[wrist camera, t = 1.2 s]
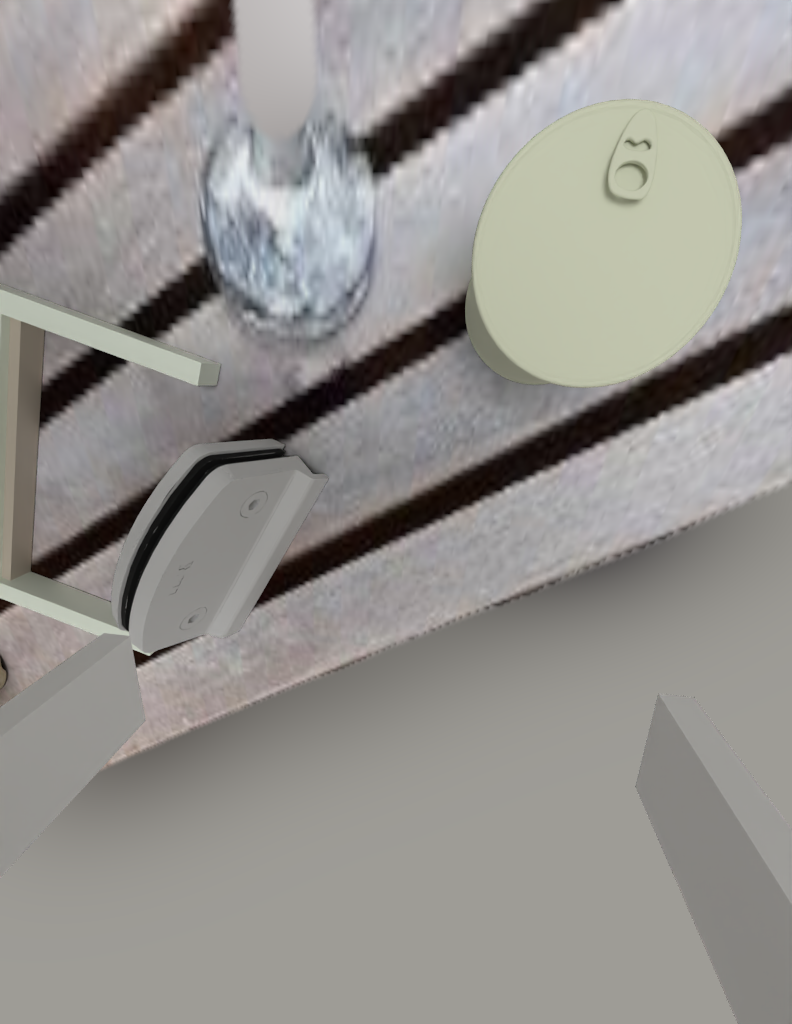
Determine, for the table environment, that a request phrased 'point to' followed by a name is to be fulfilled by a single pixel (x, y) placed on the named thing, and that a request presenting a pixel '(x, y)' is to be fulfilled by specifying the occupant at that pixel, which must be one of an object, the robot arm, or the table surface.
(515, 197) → the can
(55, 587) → the beige flat angled piece
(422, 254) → the table surface
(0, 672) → the flower pot
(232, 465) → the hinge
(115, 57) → the table surface
